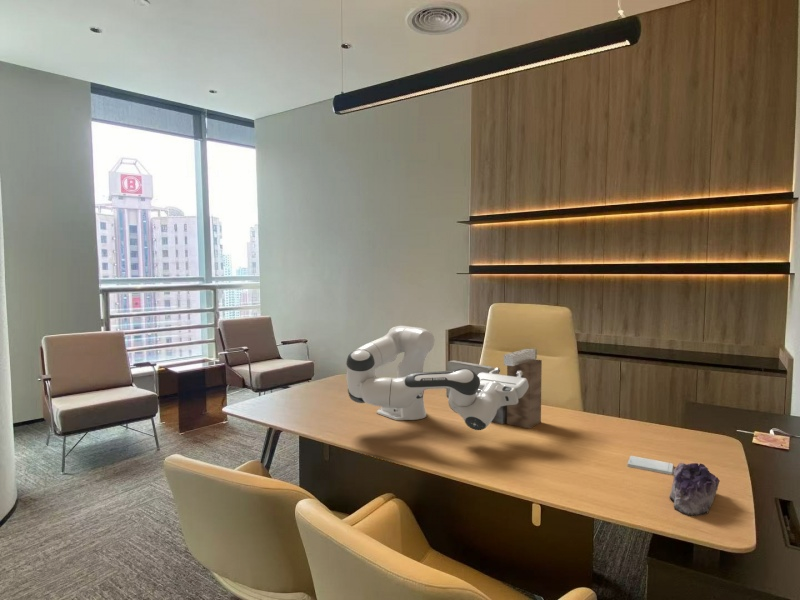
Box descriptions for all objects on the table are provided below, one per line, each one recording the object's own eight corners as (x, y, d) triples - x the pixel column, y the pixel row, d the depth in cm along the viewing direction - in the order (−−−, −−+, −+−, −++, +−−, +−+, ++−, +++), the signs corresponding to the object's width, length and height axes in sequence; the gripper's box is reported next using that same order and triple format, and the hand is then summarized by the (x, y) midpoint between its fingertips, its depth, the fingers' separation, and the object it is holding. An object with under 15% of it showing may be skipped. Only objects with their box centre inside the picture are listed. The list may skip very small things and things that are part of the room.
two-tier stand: (481, 419, 201) (481, 358, 200) (495, 413, 211) (495, 355, 210) (528, 429, 188) (528, 364, 187) (540, 422, 197) (541, 360, 196)
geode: (720, 525, 115) (714, 484, 115) (666, 517, 122) (661, 478, 122) (723, 491, 132) (718, 455, 132) (675, 486, 138) (671, 452, 138)
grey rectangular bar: (503, 364, 185) (503, 354, 185) (527, 357, 202) (527, 348, 202) (513, 366, 183) (513, 355, 182) (536, 358, 200) (536, 349, 199)
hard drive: (627, 463, 151) (672, 471, 144) (630, 455, 158) (673, 462, 151) (627, 468, 151) (672, 476, 144) (630, 459, 158) (673, 467, 151)
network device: (443, 402, 229) (443, 361, 228) (455, 399, 235) (455, 359, 234) (485, 413, 210) (486, 368, 209) (497, 409, 216) (498, 366, 215)
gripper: (471, 396, 182) (487, 373, 191) (521, 405, 169) (535, 380, 178) (467, 383, 179) (483, 361, 188) (517, 391, 166) (532, 367, 175)
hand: (509, 370), depth 183 cm, fingers open, 8 cm apart
